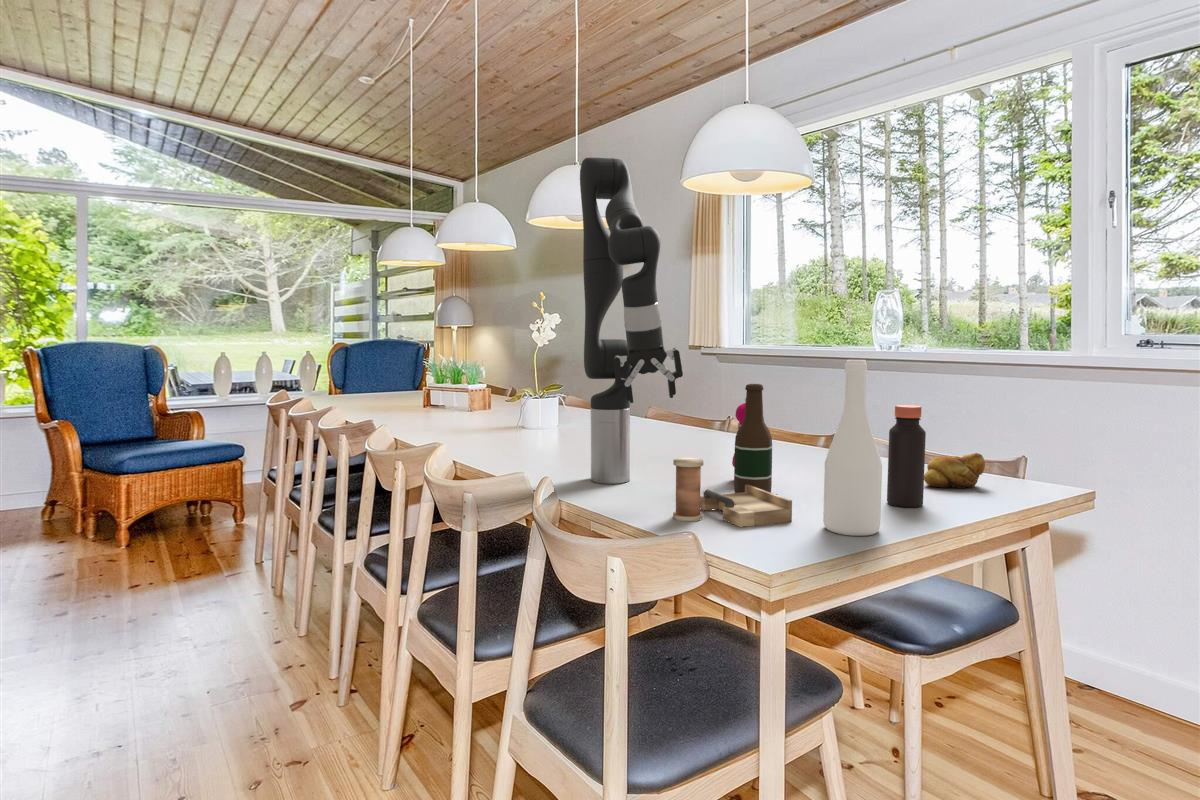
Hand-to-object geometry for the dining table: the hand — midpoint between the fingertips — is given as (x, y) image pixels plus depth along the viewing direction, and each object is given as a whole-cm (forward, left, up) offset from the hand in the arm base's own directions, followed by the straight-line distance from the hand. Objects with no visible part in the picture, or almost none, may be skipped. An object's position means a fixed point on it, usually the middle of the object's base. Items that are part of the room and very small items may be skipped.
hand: (651, 399), depth 158 cm
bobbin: (+21, -2, -21) cm, 30 cm away
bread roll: (+16, +67, -21) cm, 72 cm away
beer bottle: (+10, +19, -21) cm, 30 cm away
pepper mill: (-5, +27, -21) cm, 34 cm away
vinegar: (+27, +44, -21) cm, 56 cm away
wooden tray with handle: (+23, +9, -21) cm, 32 cm away
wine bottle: (+39, +21, -21) cm, 49 cm away
